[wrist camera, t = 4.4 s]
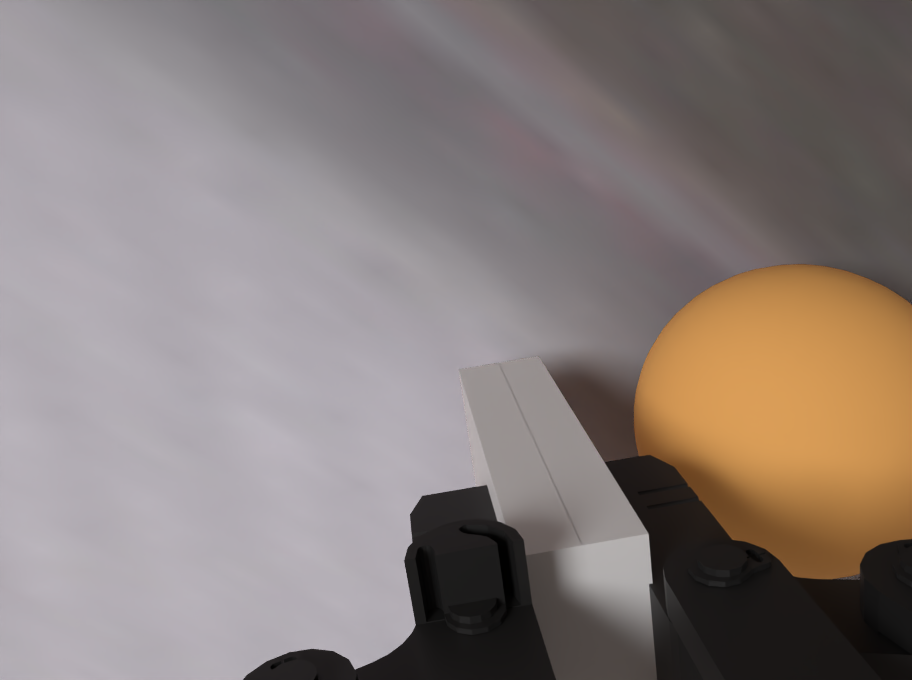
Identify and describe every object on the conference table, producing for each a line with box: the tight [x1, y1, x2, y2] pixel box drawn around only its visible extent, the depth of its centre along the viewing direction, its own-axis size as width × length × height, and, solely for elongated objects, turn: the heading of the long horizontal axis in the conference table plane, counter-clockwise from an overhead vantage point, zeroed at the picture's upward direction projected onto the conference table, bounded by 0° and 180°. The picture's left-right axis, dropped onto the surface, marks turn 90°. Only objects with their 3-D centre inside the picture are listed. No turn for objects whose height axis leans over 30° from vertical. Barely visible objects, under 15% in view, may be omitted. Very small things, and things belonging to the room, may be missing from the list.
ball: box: [634, 264, 912, 579], centre depth 15 cm, size 6×6×6 cm
